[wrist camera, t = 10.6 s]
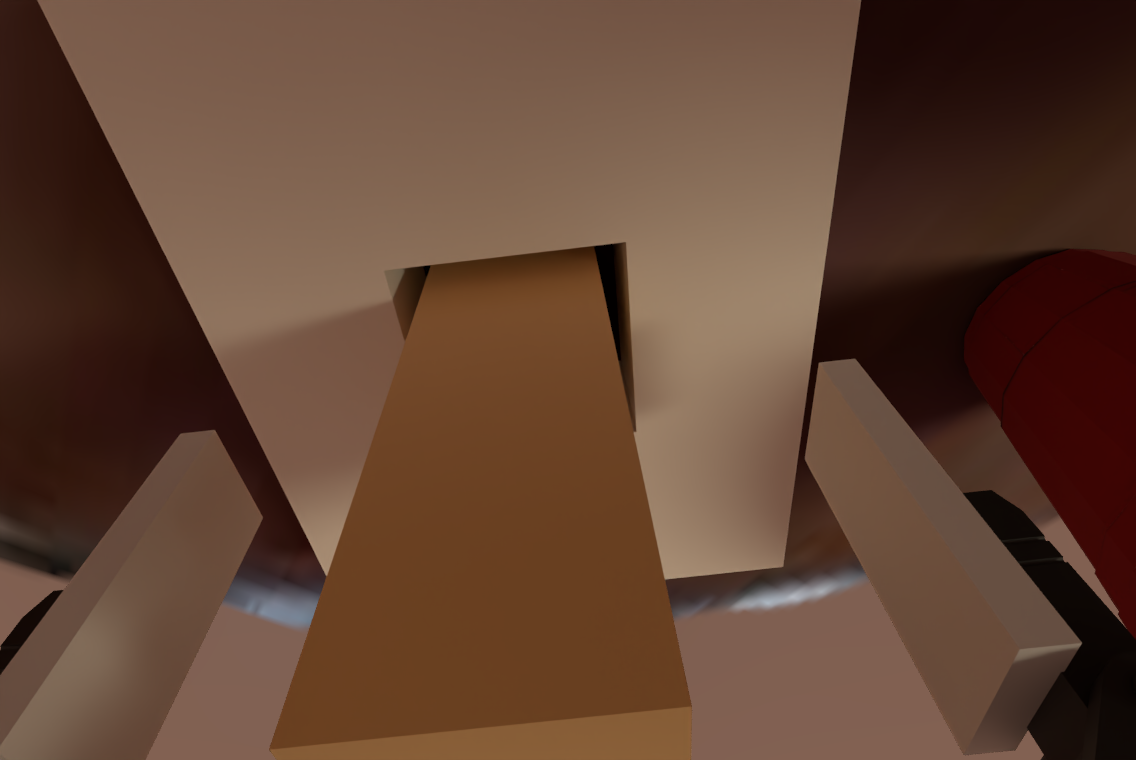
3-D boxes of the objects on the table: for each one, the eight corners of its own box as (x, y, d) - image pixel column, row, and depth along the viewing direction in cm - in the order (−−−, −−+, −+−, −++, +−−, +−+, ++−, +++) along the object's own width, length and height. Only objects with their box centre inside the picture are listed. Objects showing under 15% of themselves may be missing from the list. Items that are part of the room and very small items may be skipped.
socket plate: (803, -133, 14) (882, -160, 11) (750, 488, 26) (782, 566, 22) (129, -46, 15) (13, -46, 11) (368, 530, 26) (345, 613, 23)
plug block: (587, 216, 19) (691, 706, 6) (598, 342, 21) (689, 868, 9) (441, 233, 19) (267, 749, 7) (469, 357, 22) (384, 898, 9)
